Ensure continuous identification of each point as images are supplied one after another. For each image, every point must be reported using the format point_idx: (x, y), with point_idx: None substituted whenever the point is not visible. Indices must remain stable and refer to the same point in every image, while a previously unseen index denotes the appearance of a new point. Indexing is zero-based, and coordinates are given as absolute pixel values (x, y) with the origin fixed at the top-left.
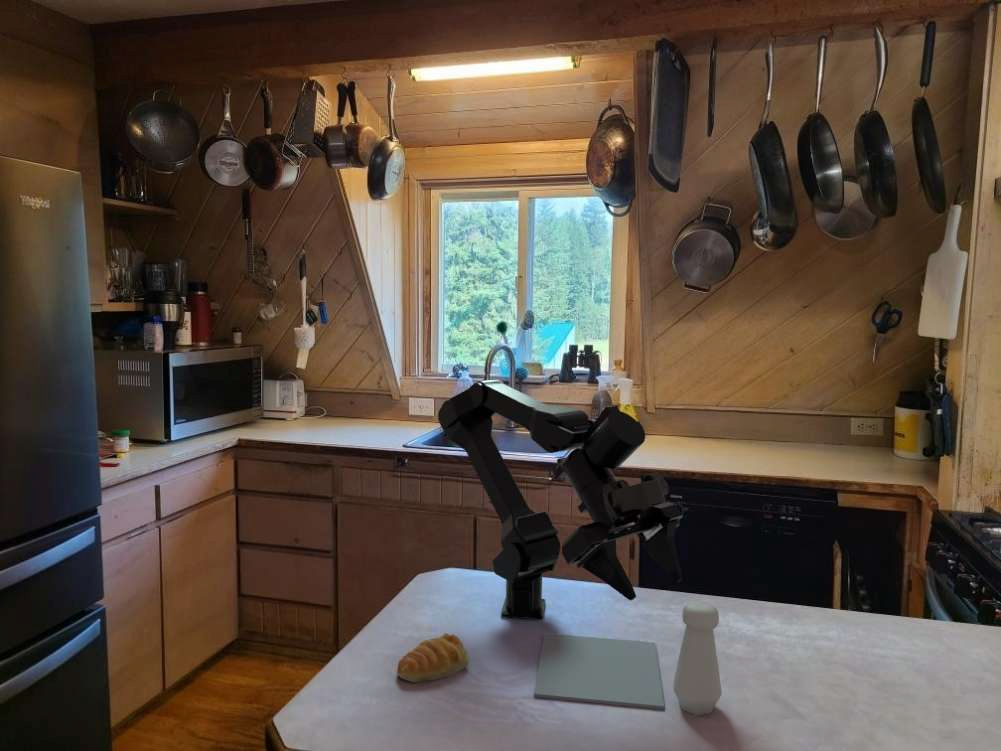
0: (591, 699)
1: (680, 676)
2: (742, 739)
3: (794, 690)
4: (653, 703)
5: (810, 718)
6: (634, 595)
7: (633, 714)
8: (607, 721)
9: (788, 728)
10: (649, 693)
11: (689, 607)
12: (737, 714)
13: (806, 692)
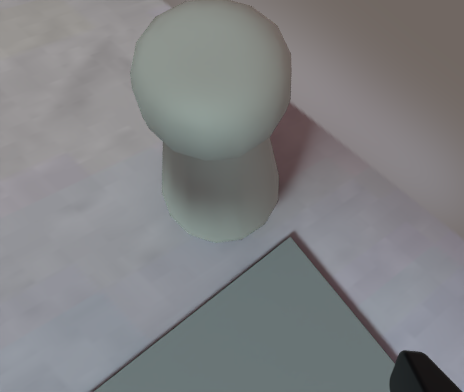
0: None
1: (272, 192)
2: None
3: (17, 89)
4: (301, 259)
5: (99, 34)
6: (422, 355)
7: (358, 275)
8: (427, 300)
9: None
10: (272, 291)
11: (263, 82)
12: None
13: (9, 71)
